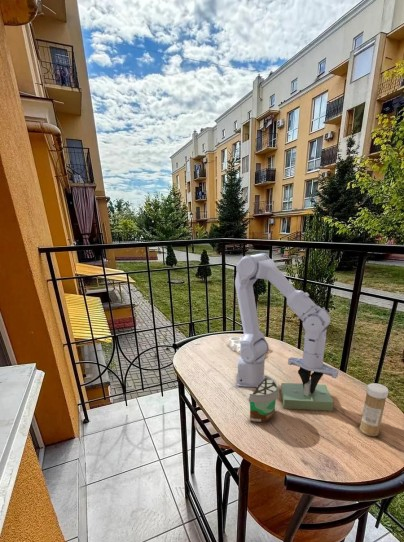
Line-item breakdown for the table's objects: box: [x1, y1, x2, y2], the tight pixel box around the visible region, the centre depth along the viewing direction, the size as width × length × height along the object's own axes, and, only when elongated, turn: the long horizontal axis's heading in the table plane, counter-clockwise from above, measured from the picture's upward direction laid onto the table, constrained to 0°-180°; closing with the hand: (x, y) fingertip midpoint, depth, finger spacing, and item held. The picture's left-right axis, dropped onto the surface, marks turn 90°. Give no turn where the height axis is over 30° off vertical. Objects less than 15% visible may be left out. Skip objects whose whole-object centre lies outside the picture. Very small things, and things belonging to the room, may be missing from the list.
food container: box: [248, 375, 280, 425], centre depth 80 cm, size 12×6×10 cm, turn 148°
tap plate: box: [280, 382, 335, 412], centre depth 88 cm, size 14×10×3 cm
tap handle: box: [304, 378, 311, 396], centre depth 87 cm, size 5×1×4 cm, turn 137°
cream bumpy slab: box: [228, 336, 243, 355], centre depth 127 cm, size 3×18×15 cm
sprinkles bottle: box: [359, 382, 389, 437], centre depth 72 cm, size 5×5×14 cm
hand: (309, 390), depth 87 cm, fingers closed on tap handle
